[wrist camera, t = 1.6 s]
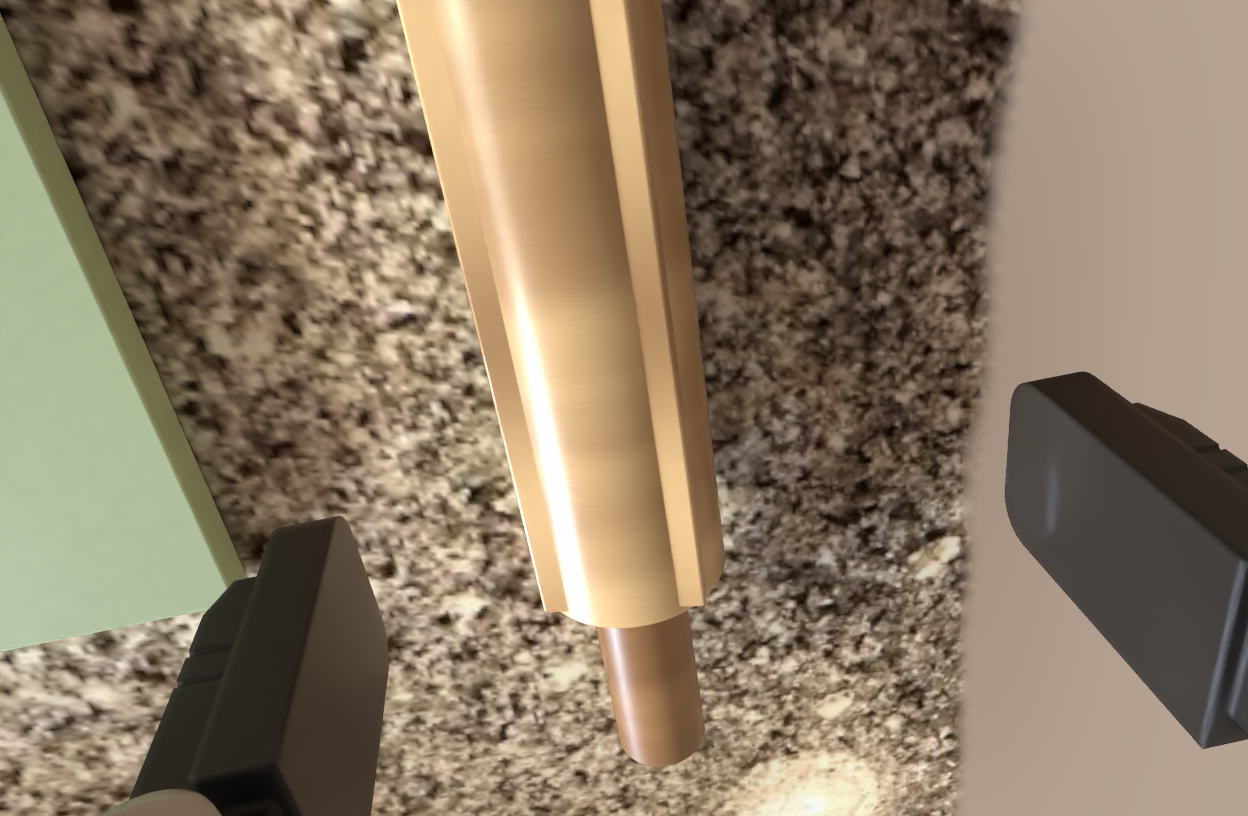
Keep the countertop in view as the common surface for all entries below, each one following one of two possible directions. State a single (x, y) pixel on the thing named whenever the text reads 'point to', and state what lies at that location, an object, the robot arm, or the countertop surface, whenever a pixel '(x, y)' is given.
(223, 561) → the pastry board
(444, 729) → the countertop surface
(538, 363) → the rolling pin
